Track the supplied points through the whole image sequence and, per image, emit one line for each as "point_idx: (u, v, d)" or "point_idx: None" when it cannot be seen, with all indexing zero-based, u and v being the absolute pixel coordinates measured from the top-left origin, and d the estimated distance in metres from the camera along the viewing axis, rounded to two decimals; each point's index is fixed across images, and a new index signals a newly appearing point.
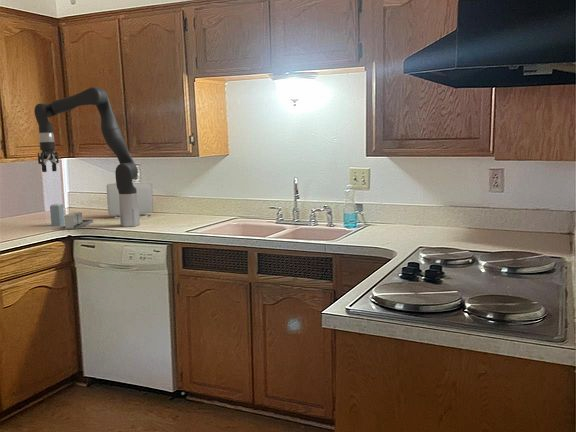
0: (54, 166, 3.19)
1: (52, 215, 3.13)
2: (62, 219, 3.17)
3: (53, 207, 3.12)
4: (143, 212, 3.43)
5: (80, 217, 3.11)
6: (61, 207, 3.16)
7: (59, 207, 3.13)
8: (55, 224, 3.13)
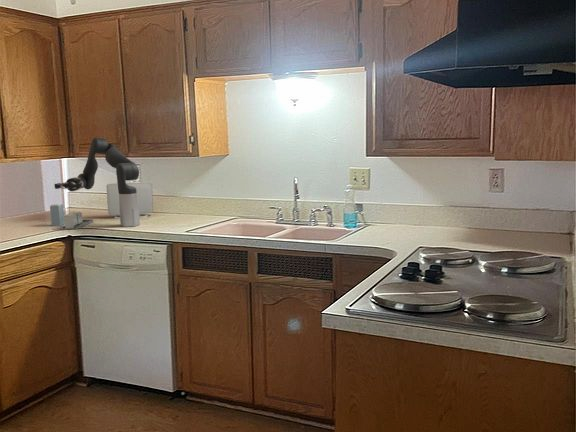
0: None
1: (52, 215, 3.13)
2: (62, 219, 3.17)
3: (53, 207, 3.12)
4: (143, 212, 3.43)
5: (80, 217, 3.11)
6: (61, 207, 3.16)
7: (59, 207, 3.13)
8: (55, 224, 3.13)
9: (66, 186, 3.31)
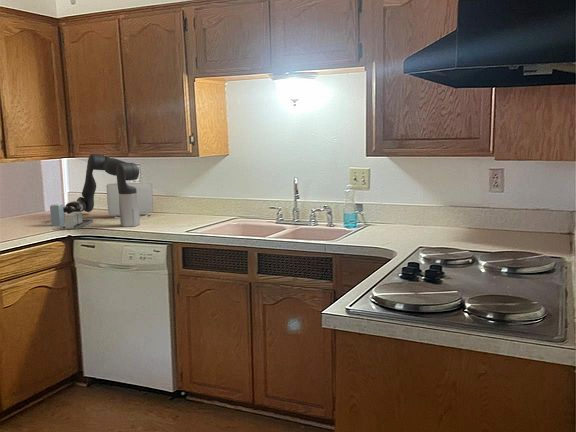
0: None
1: (52, 215, 3.13)
2: (62, 219, 3.17)
3: (53, 207, 3.12)
4: (143, 212, 3.43)
5: (80, 217, 3.11)
6: (61, 207, 3.16)
7: (59, 207, 3.13)
8: (55, 224, 3.13)
9: (65, 210, 3.29)
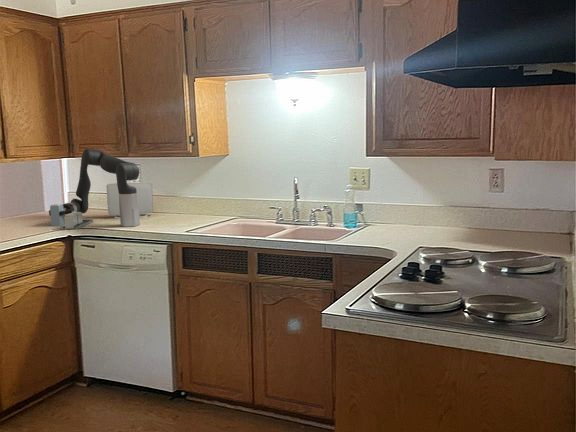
0: None
1: (52, 215, 3.13)
2: (62, 219, 3.17)
3: (53, 207, 3.12)
4: (143, 212, 3.43)
5: (80, 217, 3.11)
6: (61, 207, 3.16)
7: (59, 207, 3.13)
8: (55, 224, 3.13)
9: None
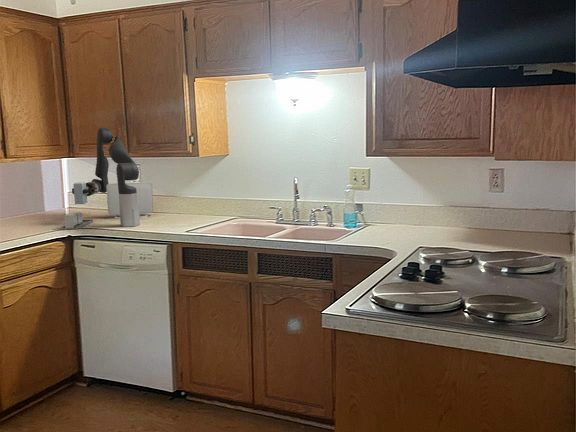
0: None
1: (75, 193, 3.15)
2: (85, 197, 3.19)
3: (76, 185, 3.14)
4: (143, 212, 3.43)
5: (80, 217, 3.11)
6: (84, 185, 3.18)
7: (82, 185, 3.15)
8: (78, 202, 3.16)
9: None
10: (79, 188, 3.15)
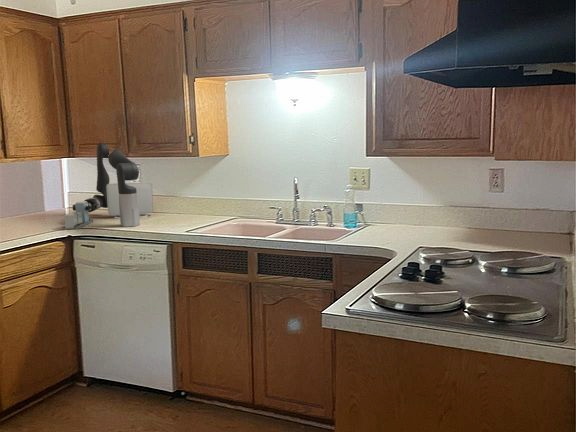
0: None
1: None
2: (87, 216, 3.21)
3: (78, 204, 3.16)
4: (143, 212, 3.43)
5: (80, 217, 3.11)
6: (86, 204, 3.20)
7: (84, 204, 3.17)
8: None
9: None
10: (81, 207, 3.16)
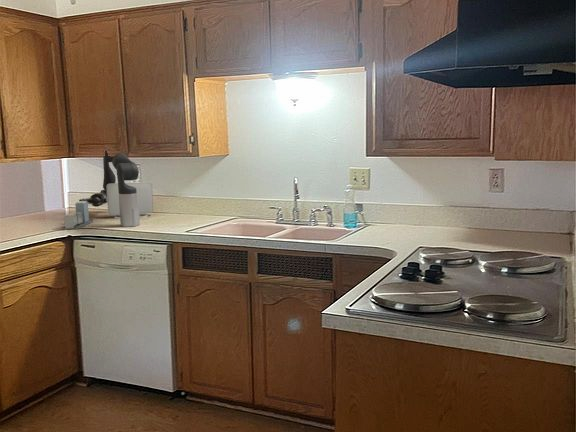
0: None
1: None
2: (87, 216, 3.21)
3: (78, 204, 3.16)
4: (143, 212, 3.43)
5: (80, 217, 3.11)
6: (86, 204, 3.20)
7: (84, 204, 3.17)
8: None
9: (90, 202, 3.35)
10: (81, 207, 3.16)
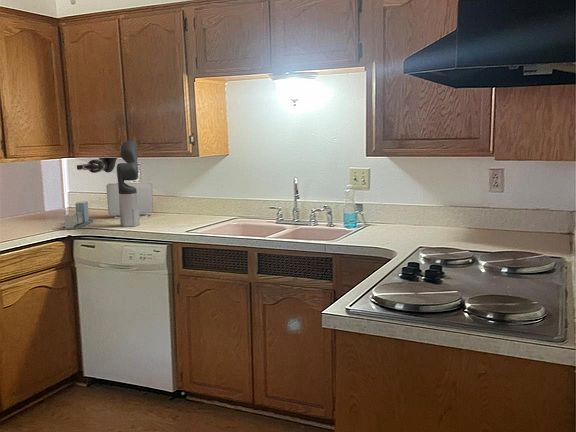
0: None
1: None
2: (87, 216, 3.21)
3: (78, 204, 3.16)
4: (143, 212, 3.43)
5: (80, 217, 3.11)
6: (86, 204, 3.20)
7: (84, 204, 3.17)
8: None
9: (88, 167, 3.32)
10: (81, 207, 3.16)
